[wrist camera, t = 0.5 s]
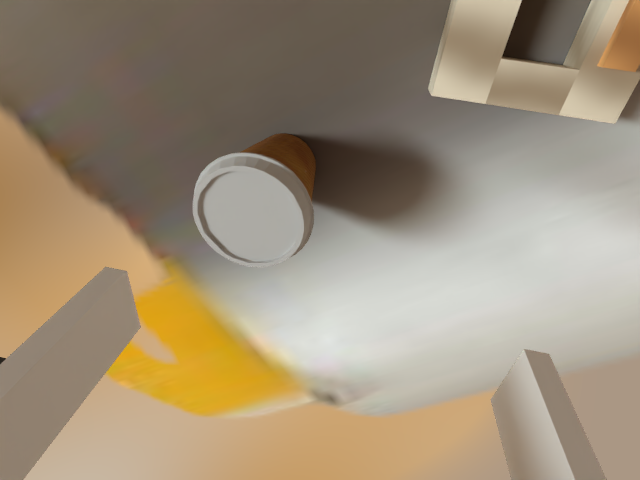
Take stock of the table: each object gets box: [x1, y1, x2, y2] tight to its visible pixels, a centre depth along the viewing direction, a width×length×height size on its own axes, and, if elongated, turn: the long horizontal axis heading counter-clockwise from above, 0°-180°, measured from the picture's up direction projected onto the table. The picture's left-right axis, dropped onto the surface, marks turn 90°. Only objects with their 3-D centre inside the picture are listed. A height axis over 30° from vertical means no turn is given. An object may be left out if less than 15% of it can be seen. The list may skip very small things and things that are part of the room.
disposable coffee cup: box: [193, 134, 316, 267], centre depth 32 cm, size 10×10×12 cm
